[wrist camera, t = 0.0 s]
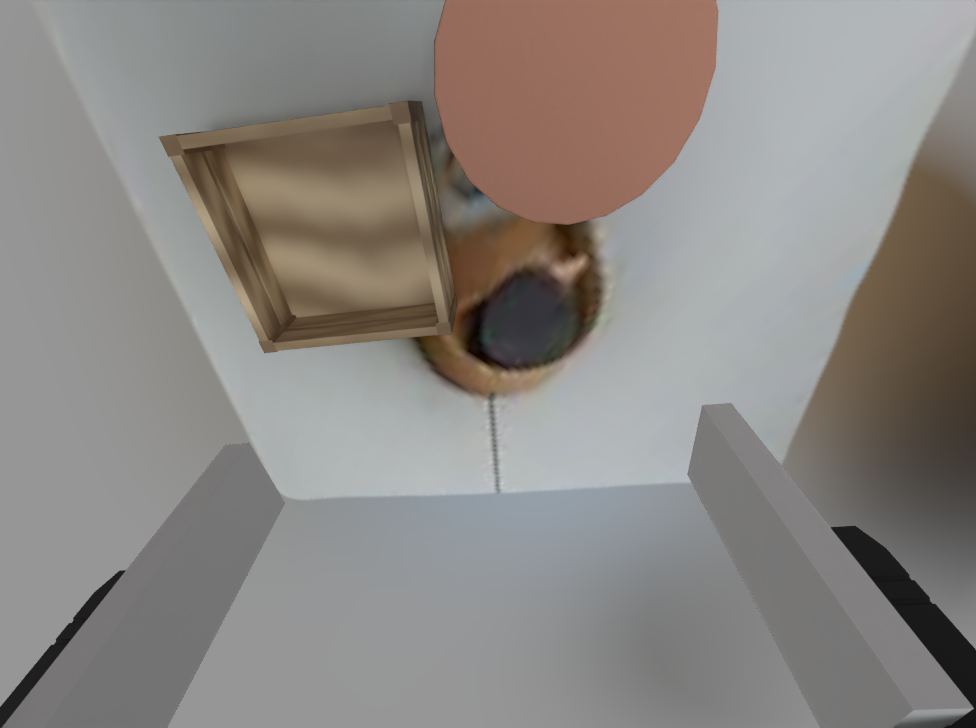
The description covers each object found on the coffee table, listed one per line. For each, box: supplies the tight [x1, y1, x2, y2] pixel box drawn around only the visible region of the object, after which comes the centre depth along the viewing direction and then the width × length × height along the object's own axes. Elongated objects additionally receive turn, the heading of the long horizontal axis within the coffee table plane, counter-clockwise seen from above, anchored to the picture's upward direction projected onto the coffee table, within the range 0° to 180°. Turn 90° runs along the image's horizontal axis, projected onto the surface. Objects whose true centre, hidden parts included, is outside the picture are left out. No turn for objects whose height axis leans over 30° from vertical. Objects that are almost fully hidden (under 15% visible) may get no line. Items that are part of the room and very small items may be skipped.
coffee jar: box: [434, 0, 718, 225], centre depth 23 cm, size 11×11×18 cm
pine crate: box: [159, 101, 457, 353], centre depth 33 cm, size 17×17×6 cm
